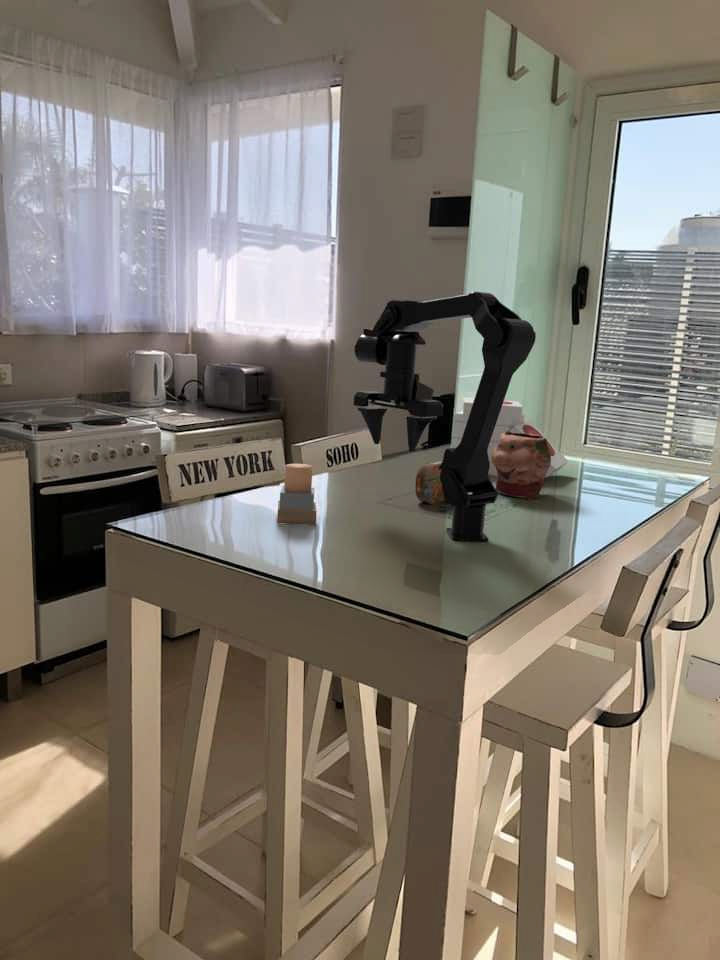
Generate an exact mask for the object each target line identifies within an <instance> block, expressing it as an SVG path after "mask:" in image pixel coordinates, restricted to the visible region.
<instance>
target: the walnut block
mask: <svg viewBox="0 0 720 960" xmlns="http://www.w3.org/2000/svg"><path fill="white" fill-rule="evenodd" d="M277 502H278V503H277V518H276V519H277V520H276V521H277V522H276V524H277V523H290V524H289V525H299V524H309V525H308V526H316V525H317V511H318V510H317V505H316V502H315V501H314V505H313V511H308V510H292V509H279V507H280V500H278V501H277Z"/></svg>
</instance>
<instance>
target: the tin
mask: <svg viewBox="0 0 720 960" xmlns="http://www.w3.org/2000/svg"><path fill="white" fill-rule="evenodd" d="M442 462H443V460H439V461H436V462H432V463H427V464H424V465H422V466H421V467H420V468H419V469H418V471H417V473H416V476H415V495H416V498H417V499H418V500H419V502H421V503H426V504H431V505H434V504H438V503H441V502H443V501H444V502H445V500H444V494H443V489H442V483H441V481H440V472H441V469H440V470H439V467H440V466H441V464H442Z"/></svg>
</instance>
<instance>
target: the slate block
mask: <svg viewBox="0 0 720 960" xmlns="http://www.w3.org/2000/svg"><path fill="white" fill-rule="evenodd" d="M279 501H280V507H279V509H292V510H308V511H313V505H314V502H315V487H312V488H311V492H308V493H291V492H287V491H285V490H284V485H282V486H281V490H280V493H279Z"/></svg>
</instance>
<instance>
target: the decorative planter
mask: <svg viewBox="0 0 720 960" xmlns="http://www.w3.org/2000/svg"><path fill="white" fill-rule="evenodd" d="M545 437H546V436H545ZM545 437H543V436H539V435H531V434H523V433H512V432H509V431H507V432H505V433H503V434H501V436H500V442H499V444H498V445H497V446H496V447H495V448H494V449H493V451H492V455H491V457H492V462H493V464H494V466H495V468H496V470H497V476H496V482H495V489H496V490H497V492H498V494H502V495H507V496H510V497H517V498H525V499H527V498H528V499H531V498H536V497H538V496H539V495H540V493H541V490H542V488H543V485H544V481H545V478H546V477H545V476H546V473H547V471H548V469H549V467H550V463H551V454H550V450H549V448H548V444H547V439H548V438H547V437H546V438H547V439H546V438H545Z"/></svg>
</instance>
